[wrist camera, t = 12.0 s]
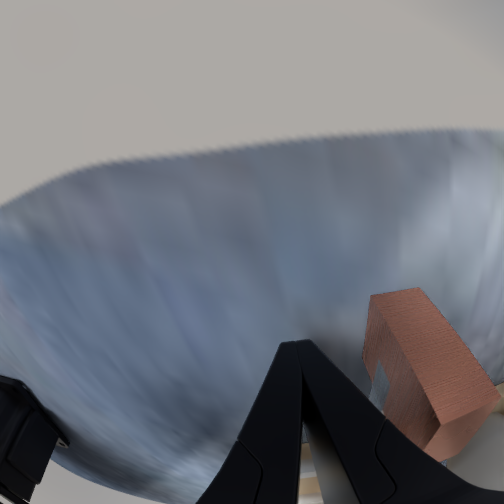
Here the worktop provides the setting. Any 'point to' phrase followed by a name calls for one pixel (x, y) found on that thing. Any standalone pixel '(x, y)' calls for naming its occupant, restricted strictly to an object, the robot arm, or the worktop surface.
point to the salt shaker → (483, 456)
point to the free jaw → (424, 374)
